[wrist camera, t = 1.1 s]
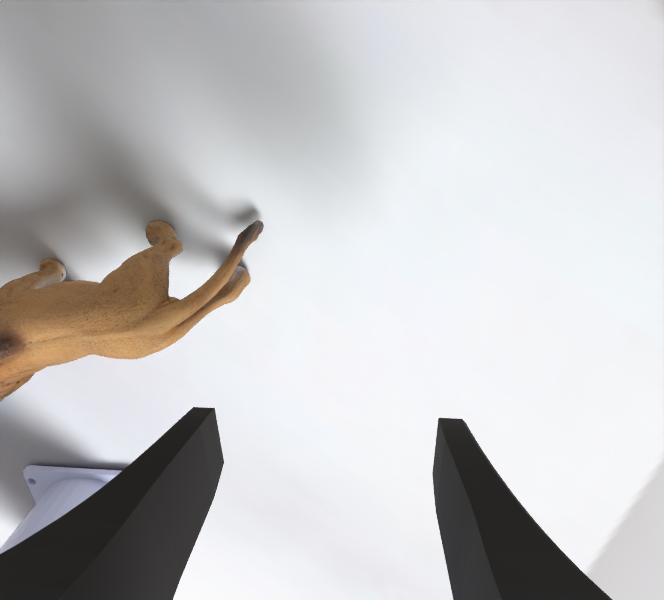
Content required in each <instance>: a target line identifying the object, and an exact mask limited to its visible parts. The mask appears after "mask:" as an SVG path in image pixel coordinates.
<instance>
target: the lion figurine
mask: <svg viewBox="0 0 664 600" xmlns="http://www.w3.org/2000/svg"><path fill="white" fill-rule="evenodd" d="M263 227H264V225H263V223H262V222H261V221H259V220H258V221H256V222H254V223H253V224H251V225H249V226H248V227H247V228H246V229H245V230H244V231H243V232H241V233H240V234H239V235H238V238H237V240H236V242H235V245H234V247H233V248H232V250H231V252H230V254H229V255H228V257H227V259H226V260H225V262H224V263H223V265H222V266H221V267H220V268H219V269H218V270H217V271H216V272H215V274H214V275H213V276H212V277H211V278H210V279H209V280H208V281H207V282H206V283H204V284H203V285H202V286H201V287H200V288H198V289H197V290H196V291H194V292H193V293H191V294H190V295H188V296H187V297H185V298H183V299H181V300H179V299H177V298H175V297H169V295H168V287H169V262H170V260H171V259H172V257H175V256H176V255H178V254H179V253H180V252H182V250H183V245H182V243H181V242H180V240H179V239H178V237H177V235H176V233H175V231H174V229H173V228H172V227H171V226H170V225H169V224H167V223H165V222H162V221H152V222H151V223H150V224H149V225H148V226H147V228H146V237H147V239H148V241H149V243H150V244H151V245H152V246H153V247H150V248H148V249H146V250H144V251H142V252H139V253H137V254H135V255H134V256H132V257H130V258H128V259H127V260H126V261H124V262H123V263H122V265H121V266H120V267H119V268H117V269H116V270H114V271H112V272H111V273H110V274H108V275H107V276H106V277H105V278H104V279H103V281H102V282H101V283H97V282H91V281H82V280H78V281H66V282H62V281H63V280H64V279H65V278H66V270H65V267H64V266H63V265H62V264H61V263H59V262H57V261H56V260H54V259H45V260H43V261H42V262H41V266H40V271H39V272H35V273H31V274H28V275H26V276H24V277H22V278H19V279H16V280H12V281H10V282H8V283H7V284H5V285H4V286H3V287H1V288H0V402H1V401H2V400H3V399H4V398H5V397H6V396H8V395H10V394H11V393H12V392H14V391H15V390H17V389H18V388H19V387H21V386H22V385H23V384H25V383H26V382H27V381H29V380H30V378H31V377H32V376H33V375H34V373H35V372H37V371H40V370H42V369H44V368H46V367H47V366H53V365H59V364H63V363H67V362H71V361H74V360H77V359H79V358H82V357H85V356H87V355H91V354H95V355H100V356H104V357H109V358H117V359H138V358H142V357H145V356H148V355H150V354H153V353H155V352H158V351H160V350H163V349H164V348H166V347H168V346H170V345H172V344H173V343H175V342H176V341H177V340H179V339H180V338H182V337H183V336H184V335H185V334H186V333H187V332H188V331H189V330H190V329H191V328H192V327H193V326H194V325H196V324H197V323H198V322H199V321H200V320H201V319H202V318H203V317H204V316H206V315H207V314H208V313H210V312H211V311H213V310H215V309H216V308H218V307H220V306H222V305H224V304H227V303H230V302H233V301H234V300H235V299H237V298H238V297H239V295H240V294H241V292H242V291H243V289H244V288H245V287H246V286H247V285H248V284H249V282H250V276H249V273H248V272H247V270H246V269H245V268H243V267H241V266H237V265H238V263H239V262H240V260H241V258H242V256H243V254H244V252H245V250H246V249H247V247H248V246H249V245H250V244H251V243H252V242H253V241H255V240H256V239H257V238H258V235H259V234H260V233H261V232H262V230H263Z"/></svg>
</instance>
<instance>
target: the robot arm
mask: <svg viewBox="0 0 664 600" xmlns="http://www.w3.org/2000/svg"><path fill="white" fill-rule="evenodd" d="M223 464H224V460H223V454H222V449H221V443H220V437H219V431H218V426H217V420H216V414H215V408H199V407H193V408H192V409H191V410H190V411H189V412H188V413H187V414H186V415H184V416H183V417H182V418H181V419H180V420H179V421H178V422H177V423H176V424H175V425H174V426H172V427H171V428H170V429H169V430H168V431H167V432H166V433H165V434H164V435H163V436H162V437H160V438H159V439H158V440H157V441H156V442H155V443H154V444H153V445H152V446H151V447H149V448H148V449H147V450H146V451H145V452H144V453H143V454H142V455H140V456H139V457H138V458H137V459H136V460H135V461H134V462H132V463H131V464H130V465H129V466H128V467H126V468H125V469H124V470H123V471H121V470H104V469H86V468H69V467H52V466H34V465H30V466H27V467H26V468H25V469H24V470H23V472H22V474H23V477H24V479H25V481H26V484H27V486H28V488H29V490H30V493H31V495H32V497H33V499H34V501H35V504H36V505H35V506H34V507H33V508H32V510H31V511H30V512H29V513H28V515H27V516H26V517H25V518H24V520H23V521H22V522H21V523H20V525H19V526H18V527H17V528H16V530H15V531H14V532H13V533H12V535H11V536H10V537H9V538H8V540H7V541H6V542H5V543H4V545H3V546H2V547H1V548H0V600H173V597H174V594H175V592H176V589H177V586H178V584H179V581H180V578H181V576H182V573H183V571H184V569H185V566H186V564H187V561H188V559H189V557H190V554H191V552H192V550H193V547H194V545H195V542H196V540H197V538H198V535H199V533H200V530H201V528H202V526H203V523H204V521H205V518H206V516H207V514H208V511H209V509H210V506H211V504H212V501H213V499H214V496H215V492H216V489H217V486H218V482H219V479H220V475H221V471H222V467H223ZM433 484H434V495H435V506H436V514H437V519H438V524H439V529H440V534H441V539H442V544H443V549H444V554H445V559H446V564H447V569H448V574H449V579H450V584H451V589H452V594H453V599H454V600H612V599H611V598H610V597H609V596H608V595H607V594H605V593H604V592H603V591H602V590H601V589H600V588H599V587H598V586H597V585H596V584H595V583H594V582H593V581H591V580H590V579H589V578H588V577H587V576H586V575H585V574H584V573H583V572H582V571H581V570H580V569H579V568H578V567H577V566H576V565H575V564H574V563H573V562H572V561H571V560H570V559H569V558H568V557H567V556H566V555H565V554H564V553H563V552H562V551H561V550H560V549H559V547H558V546H557V545H556V544H555V543H554V542H553V541H552V540H551V539H550V538H549V537H548V535H547V534H546V533H545V532H544V531H543V530H542V529H541V528H540V526H539V525H538V524H537V523H536V522H535V521H534V519H533V518H532V517H531V516H530V515H529V513H528V512H527V511H526V510H525V508H524V507H523V506H522V505H521V503H520V502H519V501H518V500H517V498H516V497H515V496H514V495H513V493H512V492H511V491H510V489H509V488H508V487H507V485H506V484H505V482H504V481H503V480H502V478H501V477H500V476H499V474H498V473H497V471H496V470H495V469H494V467H493V466H492V464H491V463H490V461H489V460H488V458H487V457H486V455H485V454H484V452H483V451H482V449H481V448H480V446H479V444H478V443H477V441H476V440H475V438H474V436H473V435H472V433H471V431H470V430H469V428H468V426H467V424H466V423H465V422H464V421H463V420H462V419H450V418H439V419H438V429H437V438H436V447H435V456H434V466H433Z"/></svg>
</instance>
